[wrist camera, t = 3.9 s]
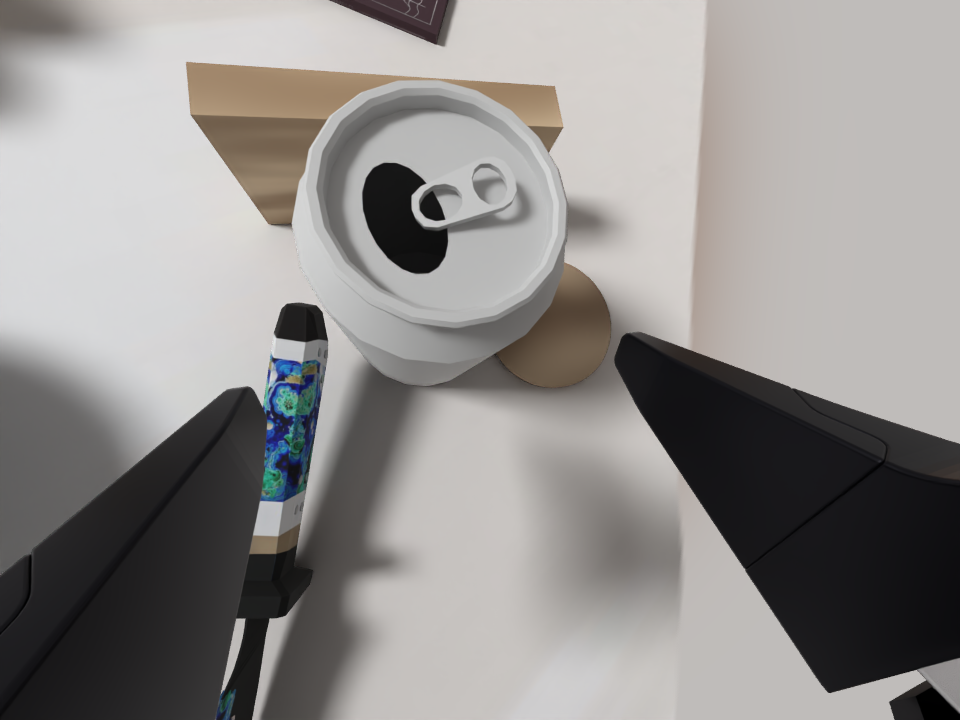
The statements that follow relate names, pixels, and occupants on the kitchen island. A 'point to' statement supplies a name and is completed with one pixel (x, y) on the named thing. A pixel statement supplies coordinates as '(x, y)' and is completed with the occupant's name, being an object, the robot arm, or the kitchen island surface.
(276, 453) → the knife
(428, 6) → the chocolate bar
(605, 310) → the coaster
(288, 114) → the plinth board
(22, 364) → the kitchen island surface
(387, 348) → the can
